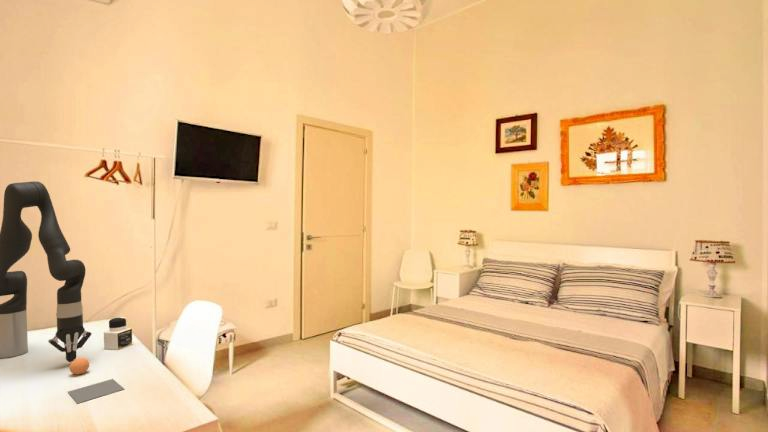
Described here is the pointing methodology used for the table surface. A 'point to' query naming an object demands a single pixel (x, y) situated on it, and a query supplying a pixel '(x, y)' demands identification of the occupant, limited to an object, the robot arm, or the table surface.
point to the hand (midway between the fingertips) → (71, 361)
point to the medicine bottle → (117, 334)
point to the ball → (79, 365)
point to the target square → (95, 391)
